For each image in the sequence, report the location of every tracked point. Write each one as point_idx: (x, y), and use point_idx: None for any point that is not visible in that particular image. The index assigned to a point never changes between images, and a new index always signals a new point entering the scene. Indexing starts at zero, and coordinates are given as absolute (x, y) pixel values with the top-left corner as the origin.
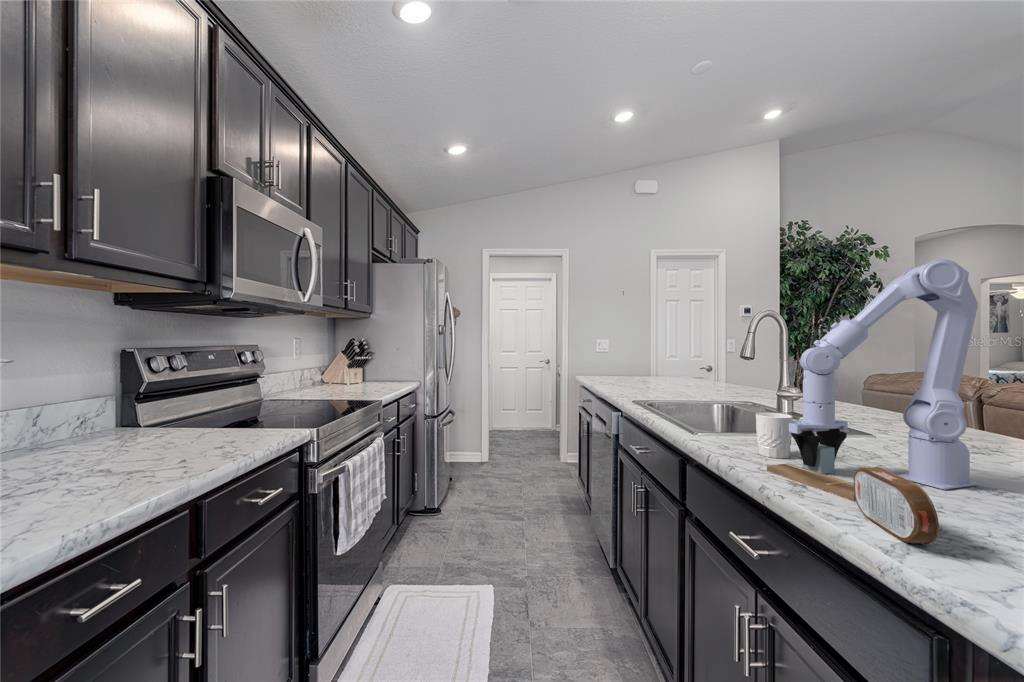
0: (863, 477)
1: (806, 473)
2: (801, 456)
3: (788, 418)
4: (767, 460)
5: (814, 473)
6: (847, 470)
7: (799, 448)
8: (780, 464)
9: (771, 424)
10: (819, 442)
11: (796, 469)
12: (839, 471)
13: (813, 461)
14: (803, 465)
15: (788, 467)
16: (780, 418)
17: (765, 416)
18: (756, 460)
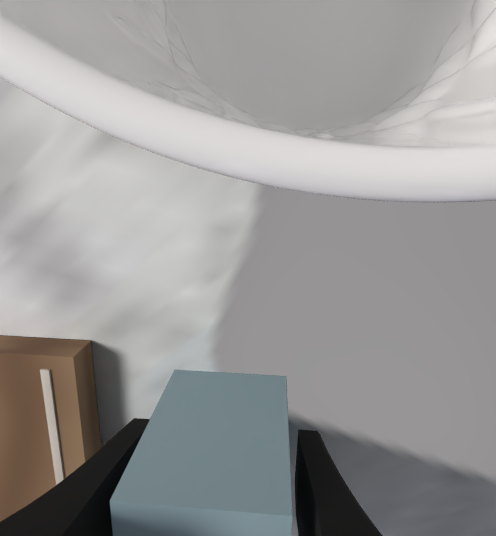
0: None
1: (15, 511)
2: (103, 446)
3: (424, 197)
4: (116, 144)
5: None
6: (408, 464)
7: (54, 492)
8: (3, 357)
9: None
10: (323, 534)
11: (21, 452)
12: (341, 461)
13: None
14: (168, 387)
15: (4, 414)
16: (46, 93)
17: None
18: (34, 118)
